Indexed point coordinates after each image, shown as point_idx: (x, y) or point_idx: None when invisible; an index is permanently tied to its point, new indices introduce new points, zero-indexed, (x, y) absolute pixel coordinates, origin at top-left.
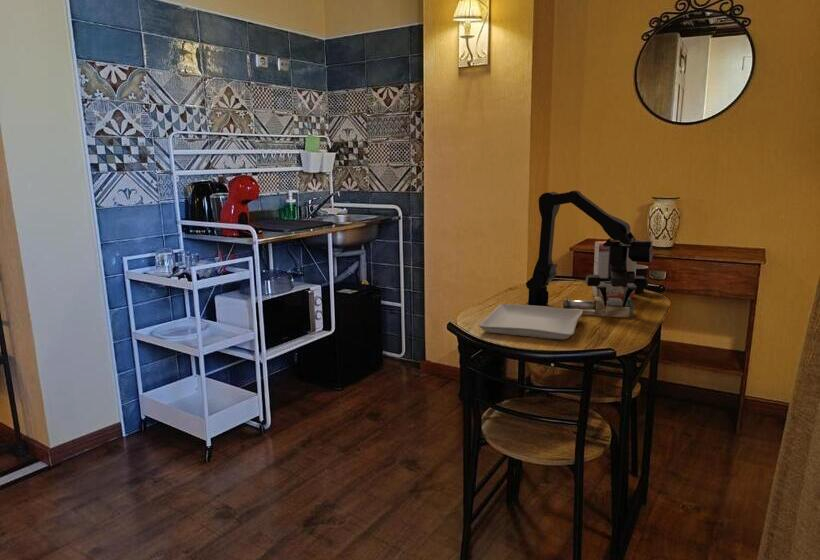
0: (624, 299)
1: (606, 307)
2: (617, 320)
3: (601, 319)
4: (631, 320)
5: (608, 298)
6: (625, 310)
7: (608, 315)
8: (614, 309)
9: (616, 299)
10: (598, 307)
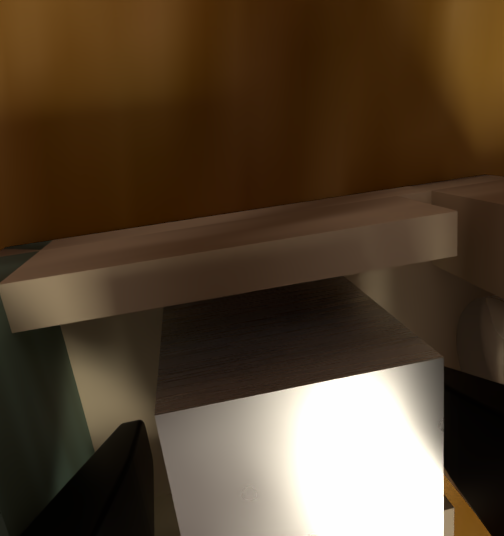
0: (106, 510)
1: (438, 212)
2: (217, 6)
3: (438, 9)
4: (2, 64)
5: (440, 527)
6: (95, 255)
7: (341, 199)
8: (289, 226)
9: (288, 507)
10: None
